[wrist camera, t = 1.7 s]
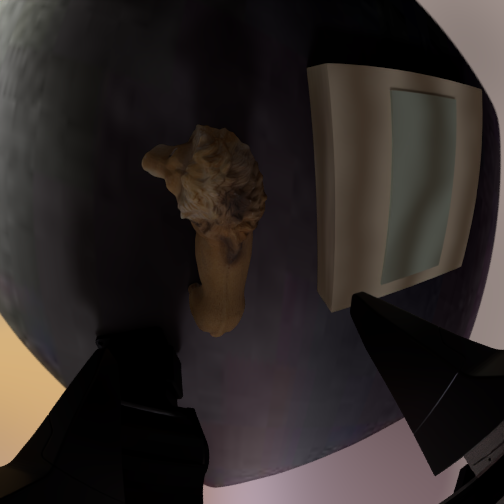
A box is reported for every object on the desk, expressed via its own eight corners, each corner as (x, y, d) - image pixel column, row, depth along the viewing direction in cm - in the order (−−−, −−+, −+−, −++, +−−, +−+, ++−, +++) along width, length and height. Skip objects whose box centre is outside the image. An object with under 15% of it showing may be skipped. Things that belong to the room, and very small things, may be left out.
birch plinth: (317, 291, 25) (332, 314, 22) (306, 68, 16) (328, 62, 13) (443, 252, 27) (462, 267, 24) (457, 86, 18) (483, 89, 15)
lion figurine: (154, 126, 16) (124, 143, 8) (239, 114, 17) (284, 120, 9) (193, 313, 23) (202, 406, 15) (256, 301, 24) (288, 388, 16)
